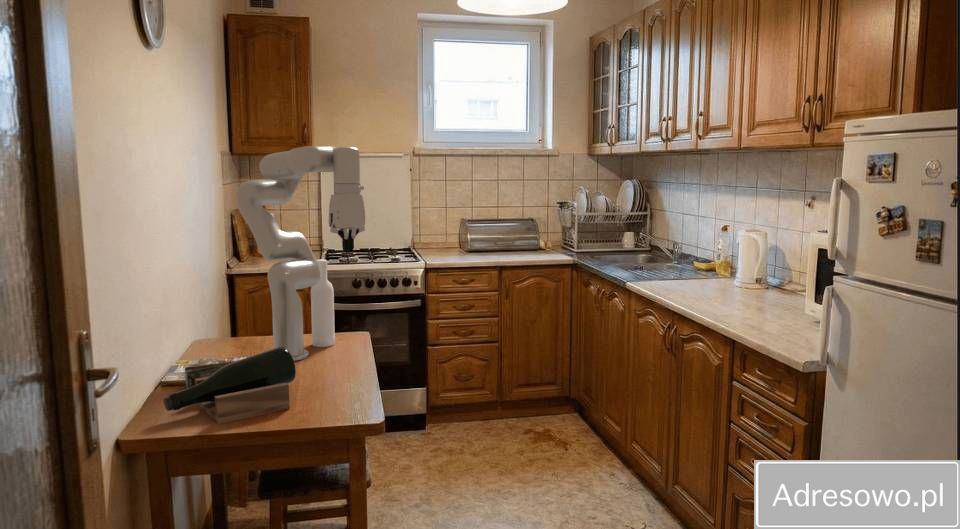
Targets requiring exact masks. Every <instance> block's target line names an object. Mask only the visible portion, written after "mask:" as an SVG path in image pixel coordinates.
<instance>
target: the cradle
mask: <svg viewBox="0 0 960 529" xmlns="http://www.w3.org/2000/svg"><path fill="white" fill-rule="evenodd" d="M207 378H208V377H204V378H198V379H195V385H197V384H199V383H201V382H202V381H204V380H205V379H207ZM197 405H198V406H199V407H200V408H201V409H202V411H204V413H206V415H208V416H209V417H210V418H211V419H213V420H214V422H215V423H217V425H222V424H225V423H227V424H228V423H232V422H235V421H240V420H245V419H249V418H253V417H258V416H259V417H260V416H263V415H268V414H272V413H277V412H281V411H286V410H290V383H289V384H287V383H281V384H276V385H271V386H266V387H261V388H255V389H250V390H245V391H240V392H235V393H230V394H224V395H219V396H215V401H210V402H202V403H198V404H197Z"/></svg>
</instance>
